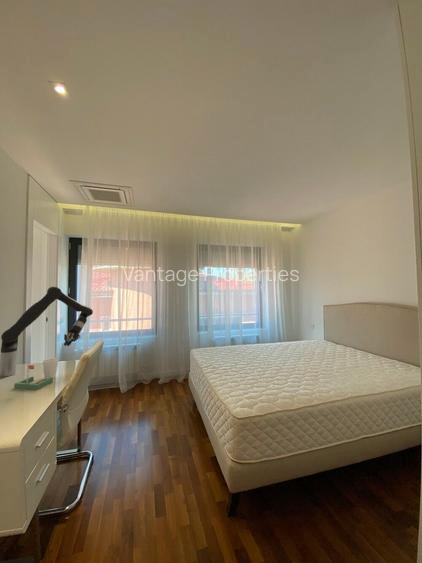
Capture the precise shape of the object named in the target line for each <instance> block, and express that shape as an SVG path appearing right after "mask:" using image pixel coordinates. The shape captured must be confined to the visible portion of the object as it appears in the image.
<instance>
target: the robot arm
mask: <svg viewBox="0 0 422 563" xmlns="http://www.w3.org/2000/svg"><path fill="white" fill-rule="evenodd" d="M62 291H63V290H62V289H61V288H60V287H58V286H50V287H49V288H48V289H47V291H46V294H45V295H44V296H43V297H42V298H41V299H40V300H38V301H37V302H36V303H34V304H32V305H31V306H30V307H29V308H28V309H27V310H26V311H25V312H24V313H22V315H21V316H20V317H19V319H18V320H17V321H16V322H15V323H14V324H13V325H12V326H10V327H9V328H8V329H6V330H5V331H4V332H2V334H1V335H0V336H1V337H0V338H1V348H0V377H9V376H13V375H15V374H16V372H17V360H18V347H19V346H18V344H19V336H20V335H21V334H22V332H24V331H25V330H26V328H28V327H29V326H30V325H32V323H33V322H35V321H36V320H37V319H38V318H39V317H40V316H41V315H42V314H43V313H44V312H45V311H46V310H47V309H48V308H49V306H50V305H51V304H53V303H54V302H55V301H56V300H58V301H60V302H62V303H63V304H65V305H66V306H67V307H69V308H71V309H72V310H74V311H75V312H77V313H78V312H80V313H79V315H78V318H77V320H76V321H75V323H73V324H72V326H71V328H70V330H69V331H68V333H67V334H66V333H64V336H63V340H64V341H65V342H63V346H64V347H66V346H67V347H69V346H71V344H72V343H73V342H74V343H75V342H76V341H77V340H79V339H80V338H81V335H80V333H81V332H82V330H83V328H84V327H85V324H86V323H87V321H88V319H87V318H88V317H90V316H92V315H93V312H94V311H93V309H92V308H91V307H89V306H86V305H83V304H82V303H80V302H79V301H77V300H76V299H73V298H71V297H69V296H68V295H67V294H65V293H64V292H62Z"/></svg>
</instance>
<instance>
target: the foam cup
mask: <svg viewBox="0 0 422 563" xmlns="http://www.w3.org/2000/svg"><path fill="white" fill-rule="evenodd" d="M59 360H60V359H59V358H58V357H51V358H50V357H49V358H45V359H43V360H42V366H43V375H44V380H47V379H49V378H53V379H55V378H56V377H57V376H56V375H57V370H58V365H59Z"/></svg>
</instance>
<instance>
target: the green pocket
mask: <svg viewBox="0 0 422 563" xmlns="http://www.w3.org/2000/svg"><path fill="white" fill-rule="evenodd" d="M34 369H35V365H34V364H33V365H31V364H27V368H26V378H25V379H22V380H19V381H17V382H15V383H14V384H13V385H14V389H21V390H34V391H38V390H40V389H43V388H44V387H46V386H48V385H50V384H52V383H54V378H49V379H44V380H43V381H41V382H38V383H33V382H34V377H35V376H29V373H30V372H29V371H30V370H34Z"/></svg>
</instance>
